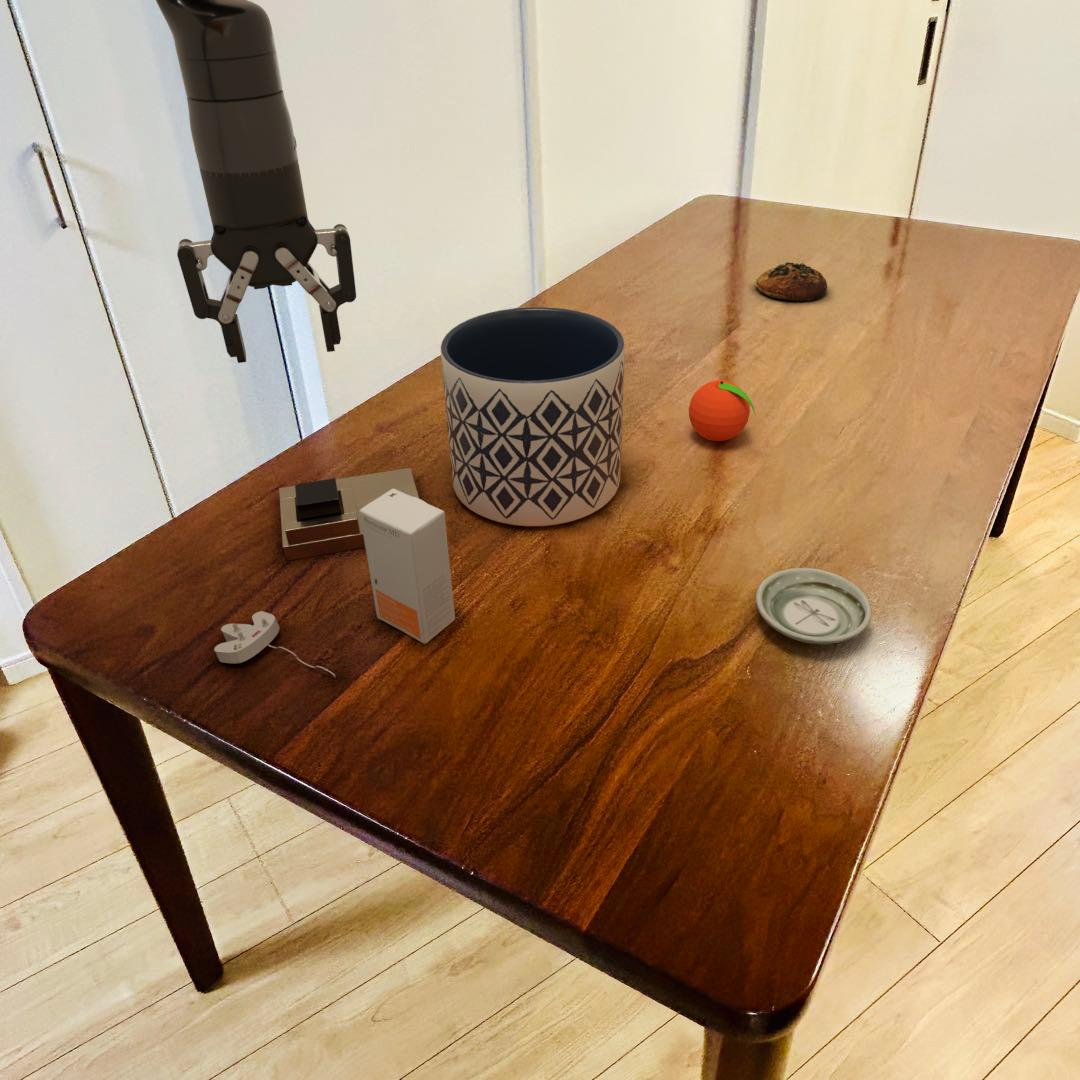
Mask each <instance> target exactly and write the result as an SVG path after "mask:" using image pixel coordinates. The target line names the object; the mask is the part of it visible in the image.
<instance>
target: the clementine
mask: <svg viewBox="0 0 1080 1080" xmlns="http://www.w3.org/2000/svg"><path fill="white" fill-rule="evenodd" d="M751 408H752V411H753V413H754V415H756V411H755V406H754V404H753V402H752V399H751V398H750V397H749V395H748V394H747V393H746V392H745V391H744V390H743V388H741V387H740V386H738V385H737V384H735V383H734V382H732V381H729V380H725V379H717V380H712V381H708V382H707V383H704V384H703V385H701V386H700V387H699V388H698V389H697V390H696V391H695V392H694V393H693V395H692V396H691V398H690V402H689V406H688V419H689V421H690V422H689V423H690V424H691V427H692V428H693V430H695V431H696V433H697V434H698V435H699V436H701V437H703V438H704V439H707V440H708V441H712V442H724V441H728V440H731V439H733V438H735V437H737V436H738V435H739V434H740V433H742V431H743V430H744V429H745V427H746V426H747V424H748V421H749V418H750V414H751Z"/></svg>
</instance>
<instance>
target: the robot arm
mask: <svg viewBox="0 0 1080 1080" xmlns="http://www.w3.org/2000/svg"><path fill="white" fill-rule="evenodd" d="M155 2H156V4H157V6H158V9H159V10H160V12H161V14H162V17H163V18H164V20H165V22H166V24H167V26H168V28H169V31H170V33H171V35H172V39H173V43H174V48H175V53H176V56H177V60H178V65H179V69H180V73H181V78H182V82H183V86H184V91H185V95H186V101H187V108H188V117H189V126H190V128H189V129H190V132H191V133H190V134H191V138H192V142H193V147H194V152H195V155H196V159H197V164H198V168H199V173H200V177H201V181H202V185H203V189H204V194H205V199H206V203H207V206H208V207H207V209H208V211H209V217H210V221H211V226H212V232H213V233H212V235H211V239H209V240H202V241H201V240H200V241H192V240H191V239H188V238H183V239H181V240H180V241H179V242H178V247H177V253H176V257H177V259H178V262H179V267H180V270H181V273H182V277H183V280H184V283H185V287H186V291H187V293H188V297H189V300H190V304H191V307H192V311H193V314H194V316H195V317H196V318H198V319H199V320H205V319H210V320H214V321H216V322H218V324H219V325H220V328H221V333H222V337H223V341H224V345H225V349H226V353H227V355H229V357H230V358H236V362H237V363H238V364H242V363H243V364H244V363H247V351H246V347H245V342H244V338H243V333H242V329H241V325H240V320H239V316H238V313H237V311H238V308H239V306H240V304H241V303H242V301H243V298H244V296H245V294H246V291H247V288H248V287H251V288H253V289H254V290H259V289H260V290H261V289H265V288H269V287H271V286H279V287H289V286H293V284H294V283H296V282H297V283H298V284H299V285H300V286H301V287H302V288H303V290H305V292H306V293H307V294H308V295H310V296H311V297H312V298H313V299H314V300H315V302H316V303H318V307H319V314H320V321H321V326H322V331H323V338H324V342H325V348H326V352H327V353H332V352H336V349H335V345H340V344H341V341H342V337H341V331H340V324H339V318H338V309H339V307H340V306H341V305H344V304H346V303H353V302H355V300H356V299H357V289H356V279H355V271H354V261H353V253H352V245H351V238H350V234H349V231H348V228H347V226H346V225H344V224H341V223H338V224H336V225H334V226H333V228H322V229H321V228H320V229H315V228H314V226H313V225H312V223H311V222H310V220H309V216H308V211H307V204H306V199H305V192H304V186H303V180H302V175H301V169H300V164H299V157H298V151H297V140H296V137H295V133H294V128H293V122H292V118H291V114H290V111H289V107H288V104H287V101H286V98H285V93H284V90H283V82H282V76H281V71H280V66H279V65H280V64H279V59H278V52H277V47H276V43H275V37H274V31H273V27H272V24H271V20H270V17H269V15H268V13H267V12H266V11H265V9H264V8H263V7H262V6H260V5H259V4H257V3H256V2H253V1H251V0H155ZM318 245H321V246H323V247H324V248H325V250H326V253H327V255H329V256H330V257H335V259H336V269H337V277H338V284H336V285H334V286H332V287H330V286H329V285H328V284H327V283H326V282H325V281H324V280H323V278H322V277H321V276H320V275H319V273H318V272H317V270H316V269H315V268H314V266H312V265H311V263H310V260H311V258H312V256H313V255H314V252H315V251H316V248H317V247H318ZM211 256H214V258H216V259H217V260H218V261H219V262H220V263H221V264H222V266H224V267H225V268H227V270H229V272H230V274H229V276H228V278H227V281H226V284H225V288H224V290H223V293H222V296H221V298H220V300H218V299H214V298H210V295H209V293H208V289H207V285H206V282H205V278H204V275H203V271H204V270H206V269H207V267H208V259H209V258H210V257H211Z"/></svg>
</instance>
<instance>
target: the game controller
mask: <svg viewBox="0 0 1080 1080" xmlns="http://www.w3.org/2000/svg"><path fill="white" fill-rule="evenodd" d="M251 620H252V622H253V625H252V624H249V623H227V624H224V625H222V627H221V628H220V630H221V631H220V632H221V633H222V634H223V637H224V639H225V642H220V643H219V644H217V645H216V646H214V650H213V651H214V652H215V655H216V658H217V659H218V661H219V662H220V663H222V664H223V663H225V664H242V663H244V662H247V661H248V660H250V659H251V658H253V657H255V656H256V655H257V654H259V653H261V651H263V650H264V649H265V648H266V647H270V648H273V649H283V650H284V651H287V652H289V653H290V654H292V655H293V656H294V657H295V658H296V660H297V661H299V662H300V663H302V664H304V665H305V666H308V667H311V668H320V669H323V670H324V671H327V672H328V673H330V674H332V676H333V677H334V679H337V678H336V674H335V673H334V672H332V671H330V669H327V668H325V667H323V666H320V665H316V666H314V665H310V664H308V663H306V662H304V661H303V660H302V659H300V658H299V657H298V656H297V654H296V653H294V652H293V651H291V650H290V649H287V648H285V647H283V646H278V647H277V646H274V645H271V644H270V643H271V642H272V641H273V640H274V639H275V638H276V637H277V635H278V634H279V632H280V628H281V627H280V625H279V623H278V620H277V618H276V616H275V615H273V614H272V613H269V612H266V611H262V610H260V611H257V612H255V613H254V614H252V616H251Z"/></svg>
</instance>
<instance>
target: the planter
mask: <svg viewBox="0 0 1080 1080" xmlns="http://www.w3.org/2000/svg"><path fill="white" fill-rule="evenodd" d="M625 344H626V343H625V339H624V336H623V335H622V333H621V331H620V330H618V328H617V327H616V326H615V325H613V324H611V323H610V322H609V321H607V320H605V319H603V318H601V317H598V316H597V315H596V316H595V315H593V314H590V313H587V312H583V311H579V310H573V309H566V308H559V307H545V306H535V307H532V306H531V307H529V306H528V307H515V308H507V309H506V308H505V309H500V310H495V311H491V312H487V313H483V314H480V315H479V314H478V315H477V316H474V317H471V318H468V319H467V320H465V321H462V322H461V323H459V324H457V325H455V326H454V327H453V328H452V329H450V331H448V332H447V333H446V334H445V336H444V337H443V339H442V341H441V344H440V358H441V359H440V360H441V371H442V381H443V382H442V383H443V384H442V385H443V394H444V395H443V396H444V405H445V406H444V407H445V416H446V427H447V437H448V448H449V458H450V459H449V460H450V469H451V478H452V487H453V490H454V493H455V495H456V497H457V498H458V500H459V501H460V502H461V503H462V504H463V505H464V506H465V507H466V508H468V509H469V510H470V511H472V512H474V513H475V514H477V515H479V516H481V517H484V518H485V519H488V520H491V521H494V522H497V523H501V524H505V525H506V524H507V525H512V526H518V527H519V526H522V527H546V526H547V527H548V526H554V525H556V526H557V525H561V524H566V523H570V522H573V521H577V520H580V519H582V518H585V517H587V516H590V515H592V514H593V513H595V512H597V511H599V510H600V509H602V508H603V507H605V506H606V505H607V504H608V503H609V502H610V501H611V500H612V499H613V497H614V496H615V495H616V493H617V491H618V490H619V487H620V483H621V482H620V481H621V465H622V441H623V440H622V439H623V418H624V417H623V413H624V412H623V411H624V388H625V387H624V386H625V384H624V382H625V353H626V352H625V349H626V347H625V346H626V345H625Z"/></svg>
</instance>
